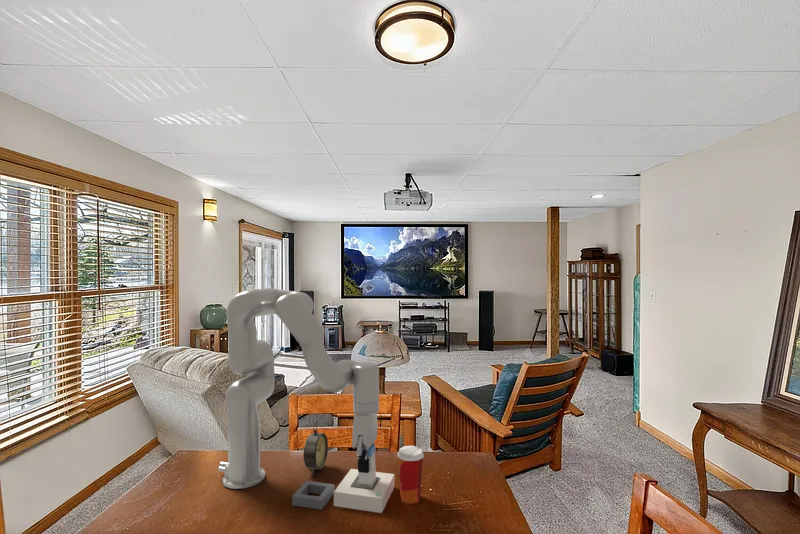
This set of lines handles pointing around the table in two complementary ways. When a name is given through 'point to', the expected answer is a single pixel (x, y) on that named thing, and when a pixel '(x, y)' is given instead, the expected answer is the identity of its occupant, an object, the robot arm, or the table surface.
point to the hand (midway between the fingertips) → (366, 467)
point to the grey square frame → (313, 501)
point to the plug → (371, 475)
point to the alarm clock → (315, 450)
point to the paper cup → (410, 473)
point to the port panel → (364, 492)
